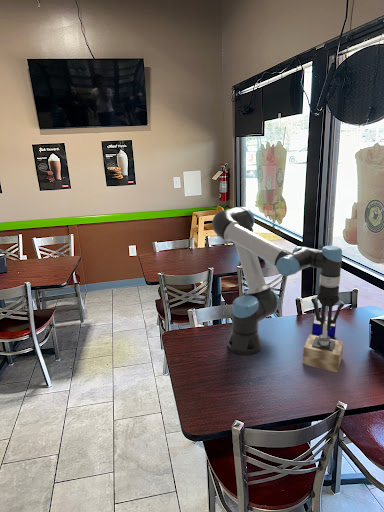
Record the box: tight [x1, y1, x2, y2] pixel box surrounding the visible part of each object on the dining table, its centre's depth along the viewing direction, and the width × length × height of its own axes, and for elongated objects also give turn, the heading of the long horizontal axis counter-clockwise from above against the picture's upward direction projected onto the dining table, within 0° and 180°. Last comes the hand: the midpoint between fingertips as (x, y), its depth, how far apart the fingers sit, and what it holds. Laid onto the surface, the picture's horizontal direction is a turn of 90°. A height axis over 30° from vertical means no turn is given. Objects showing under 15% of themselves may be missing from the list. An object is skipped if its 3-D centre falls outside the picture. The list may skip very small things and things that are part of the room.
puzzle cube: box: [311, 314, 337, 340], centre depth 169 cm, size 10×10×10 cm
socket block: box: [302, 333, 344, 374], centre depth 152 cm, size 14×12×9 cm
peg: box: [319, 335, 330, 347], centre depth 151 cm, size 4×4×8 cm
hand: (324, 336), depth 150 cm, fingers closed
